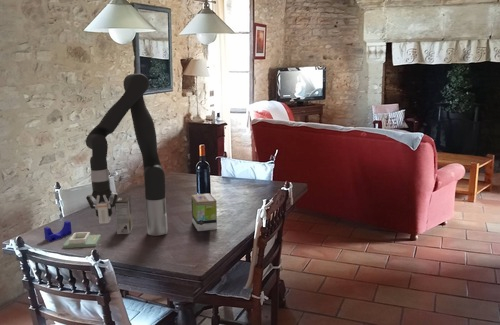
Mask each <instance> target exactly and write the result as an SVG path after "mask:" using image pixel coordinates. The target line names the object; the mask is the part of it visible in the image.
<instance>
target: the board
mask: <svg viewBox="0 0 500 325" xmlns="http://www.w3.org/2000/svg"><path fill="white" fill-rule="evenodd" d="M101 238H102V234H91V232H90V231H81V232H74V233H73V234H71V235H70V236H69V237H68V238H67V239H66V241H65V242H64V243H63V244H62V249H68V248H69V249H70V248H73V249H74V248H89V247H97V244H98V243H99V242H100V240H101Z"/></svg>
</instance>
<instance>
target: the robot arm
mask: <svg viewBox="0 0 500 325" xmlns="http://www.w3.org/2000/svg"><path fill="white" fill-rule="evenodd" d="M122 83H123V89H124V93H123V94H122V96H121V97H120V98H119V99H118V100H117V101H116V102H115V103H114V104H113V105H112V106H111V107H110V108H109V109H108V110H107V112H106V113H105V114H104V115H103V116H102V118H101V119H100V121H99V123H98V124H97V125H96V126H95V127H94V128H93V129H92V130H90V132H89V133H88V135H87V136H86V138H85V145H86V147H87V148H88V149H90V150H91V152H92V154H91V157H90V158H89V165H90V181H91V188H92V193H91V194H88V195H87V196H86V201H87V202H88V205H89V207H90V208H91V209H94V210H95V215H96V217H97V218H98V219H99V216H98V208H97V204H98V203H99V202H106V203H107V205H108V215H109V217H110V218H111V217H112V214H113V208H115V205H116V201H117V197H119V193H118V192H112V190H111V182H110V174H109V173H110V172H109V169H108V168H109V167H108V159H107V158H108V150H109V149H108V148H109V147H108V145H109V144H108V140H107V136H108V135H111V134H113V133H114V132H115V131H116V130H117V128H118V126H119V125H120V123H121V122H122V121H123V119H124V117H125V116H126V115H127V113H128V112H129V111H130V115H131V119H132V120H131V121H132V124H133V129H134V135H135V138H136V142H137V145H138V148H139V151H140V153H141V158H142V164H143V165H142V166H143V176H144V179H143V180H144V193H145V194H144V198H145V212H146V231H147V235H148V236H155V237H156V236H157V237H158V236H163V235H167V234H168V215H167V214H168V213H167V205H166V201H167V200H166V176H165V175H166V174H165V171H164V169H163V166H162V163H161V161H160V158H159V153H158V144H157V142H158V141H157V132H156V127H155V122H154V119H153V117H152V115H151V114H150V111H149V110H148V108H147V106H146V103H145V98H144V94H145V93H146V92H147V90H148V89H149V86H150V80H149V78H148V77H147V76H146V75H144V74H143V73H131V74H127V75H126V76H125V78H123V82H122ZM111 196H112V199H113V200H112V203H111V199H110V198H111ZM93 199H94V200H95V203H94V202H93V201H94V200H93Z"/></svg>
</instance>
